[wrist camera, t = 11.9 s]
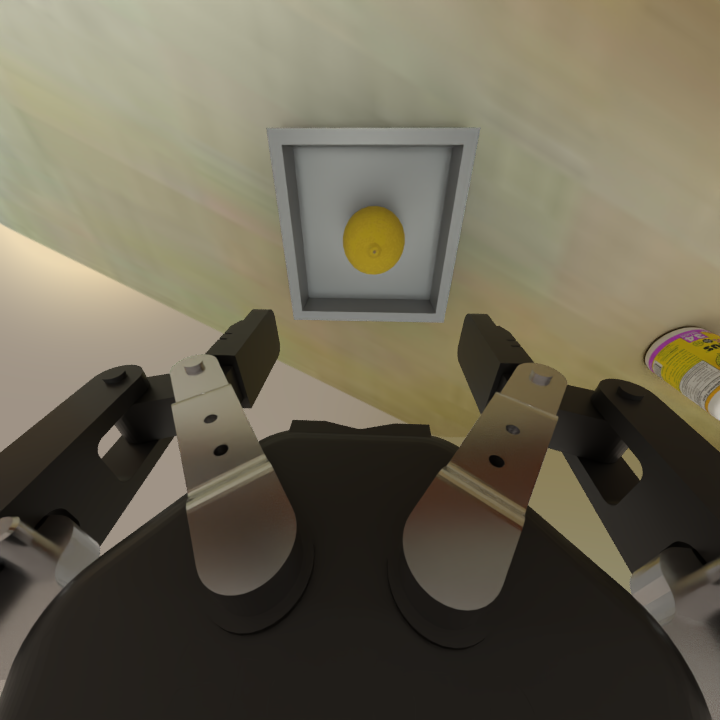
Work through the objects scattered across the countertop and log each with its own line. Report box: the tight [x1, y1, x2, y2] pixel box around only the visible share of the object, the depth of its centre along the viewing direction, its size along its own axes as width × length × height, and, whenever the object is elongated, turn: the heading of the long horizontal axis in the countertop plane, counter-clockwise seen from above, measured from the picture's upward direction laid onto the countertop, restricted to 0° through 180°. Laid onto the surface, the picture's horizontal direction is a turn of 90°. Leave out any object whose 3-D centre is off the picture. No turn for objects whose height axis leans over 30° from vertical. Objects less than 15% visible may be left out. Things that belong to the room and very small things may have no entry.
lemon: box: [343, 206, 405, 275], centre depth 25 cm, size 6×6×8 cm
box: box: [266, 128, 480, 322], centre depth 27 cm, size 16×16×4 cm
